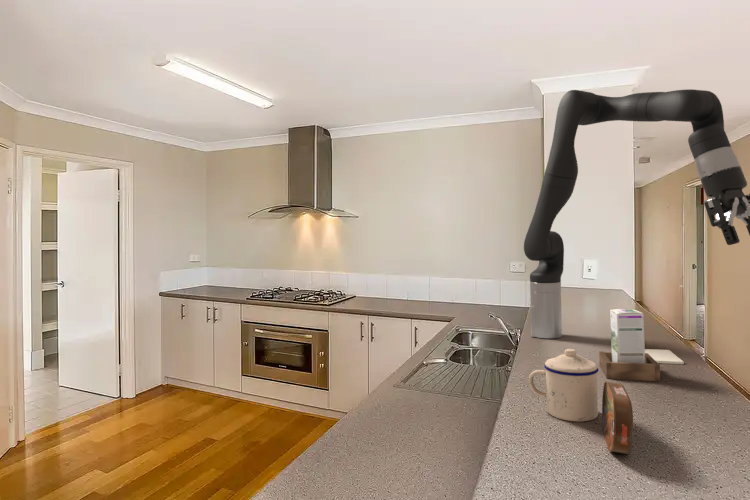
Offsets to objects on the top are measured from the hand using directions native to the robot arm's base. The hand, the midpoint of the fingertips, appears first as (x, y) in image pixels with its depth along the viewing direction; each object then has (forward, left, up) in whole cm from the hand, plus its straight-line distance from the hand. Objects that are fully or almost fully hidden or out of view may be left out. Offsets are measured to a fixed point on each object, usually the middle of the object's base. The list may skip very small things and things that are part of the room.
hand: (746, 241), depth 101 cm
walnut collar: (-23, 0, -30) cm, 38 cm away
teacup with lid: (-39, -28, -30) cm, 57 cm away
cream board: (-15, +16, -30) cm, 37 cm away
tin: (-32, -39, -30) cm, 59 cm away
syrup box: (-23, 0, -30) cm, 38 cm away
